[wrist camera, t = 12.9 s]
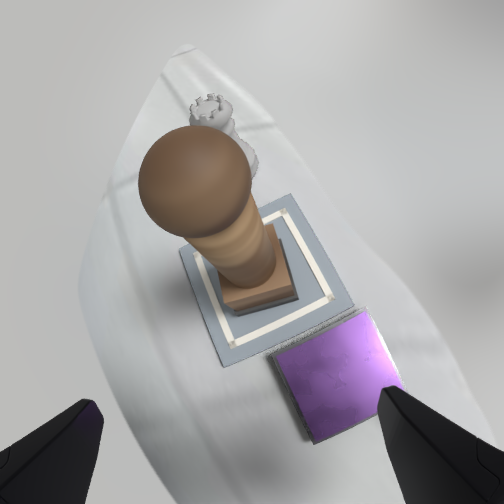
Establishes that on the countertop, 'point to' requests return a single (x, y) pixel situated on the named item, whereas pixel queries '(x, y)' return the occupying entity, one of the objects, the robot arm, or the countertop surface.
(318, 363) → the ink pad
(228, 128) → the rook chess piece
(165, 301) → the countertop surface
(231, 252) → the wooden ball finial
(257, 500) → the countertop surface
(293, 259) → the marked card
